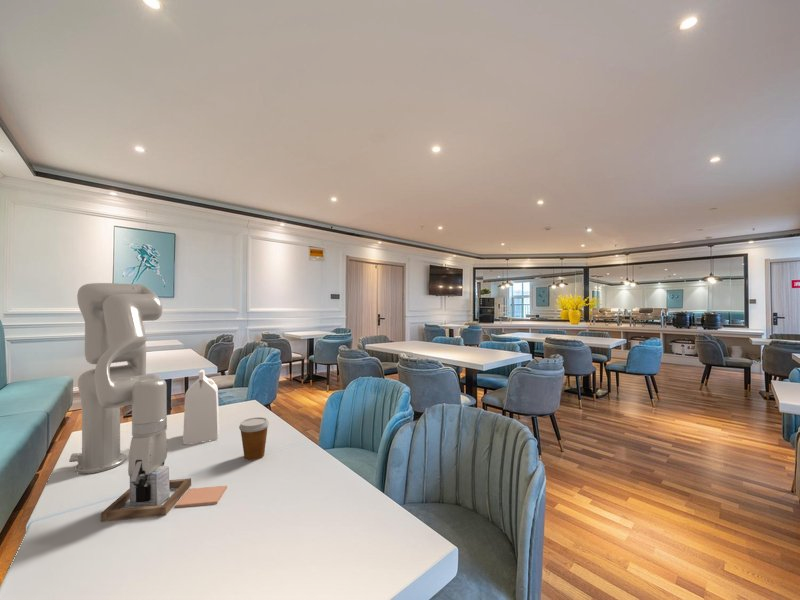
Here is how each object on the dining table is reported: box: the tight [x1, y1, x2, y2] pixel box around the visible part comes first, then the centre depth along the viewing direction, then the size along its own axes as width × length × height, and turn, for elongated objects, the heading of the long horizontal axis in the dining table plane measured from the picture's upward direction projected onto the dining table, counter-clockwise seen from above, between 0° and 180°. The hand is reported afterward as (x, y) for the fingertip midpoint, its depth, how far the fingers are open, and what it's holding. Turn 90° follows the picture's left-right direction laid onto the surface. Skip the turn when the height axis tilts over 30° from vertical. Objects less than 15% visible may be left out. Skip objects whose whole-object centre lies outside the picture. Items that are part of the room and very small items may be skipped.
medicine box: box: [129, 465, 171, 507], centre depth 92 cm, size 8×4×9 cm, turn 85°
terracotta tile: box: [175, 485, 228, 508], centre depth 94 cm, size 10×8×1 cm
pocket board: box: [100, 477, 192, 522], centre depth 92 cm, size 14×14×2 cm
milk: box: [182, 369, 220, 445], centre depth 137 cm, size 12×12×26 cm
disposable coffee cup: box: [238, 416, 270, 461], centre depth 119 cm, size 10×10×12 cm
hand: (150, 494), depth 92 cm, fingers closed on medicine box, 5 cm apart
